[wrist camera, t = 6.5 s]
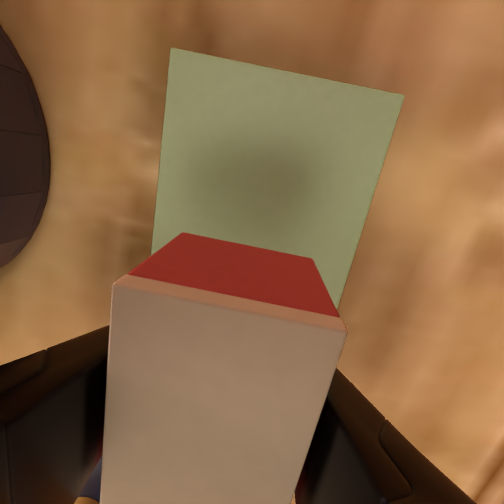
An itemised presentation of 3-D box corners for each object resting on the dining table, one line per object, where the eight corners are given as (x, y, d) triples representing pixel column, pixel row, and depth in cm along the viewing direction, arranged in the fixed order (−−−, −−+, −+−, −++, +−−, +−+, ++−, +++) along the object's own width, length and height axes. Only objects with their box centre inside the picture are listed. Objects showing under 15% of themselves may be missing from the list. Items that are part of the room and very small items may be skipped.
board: (298, 404, 19) (300, 424, 17) (147, 373, 19) (137, 390, 17) (391, 102, 13) (405, 94, 12) (180, 59, 13) (170, 46, 12)
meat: (273, 405, 10) (276, 550, 6) (162, 383, 10) (97, 513, 6) (313, 257, 9) (349, 331, 5) (181, 230, 9) (110, 283, 5)
